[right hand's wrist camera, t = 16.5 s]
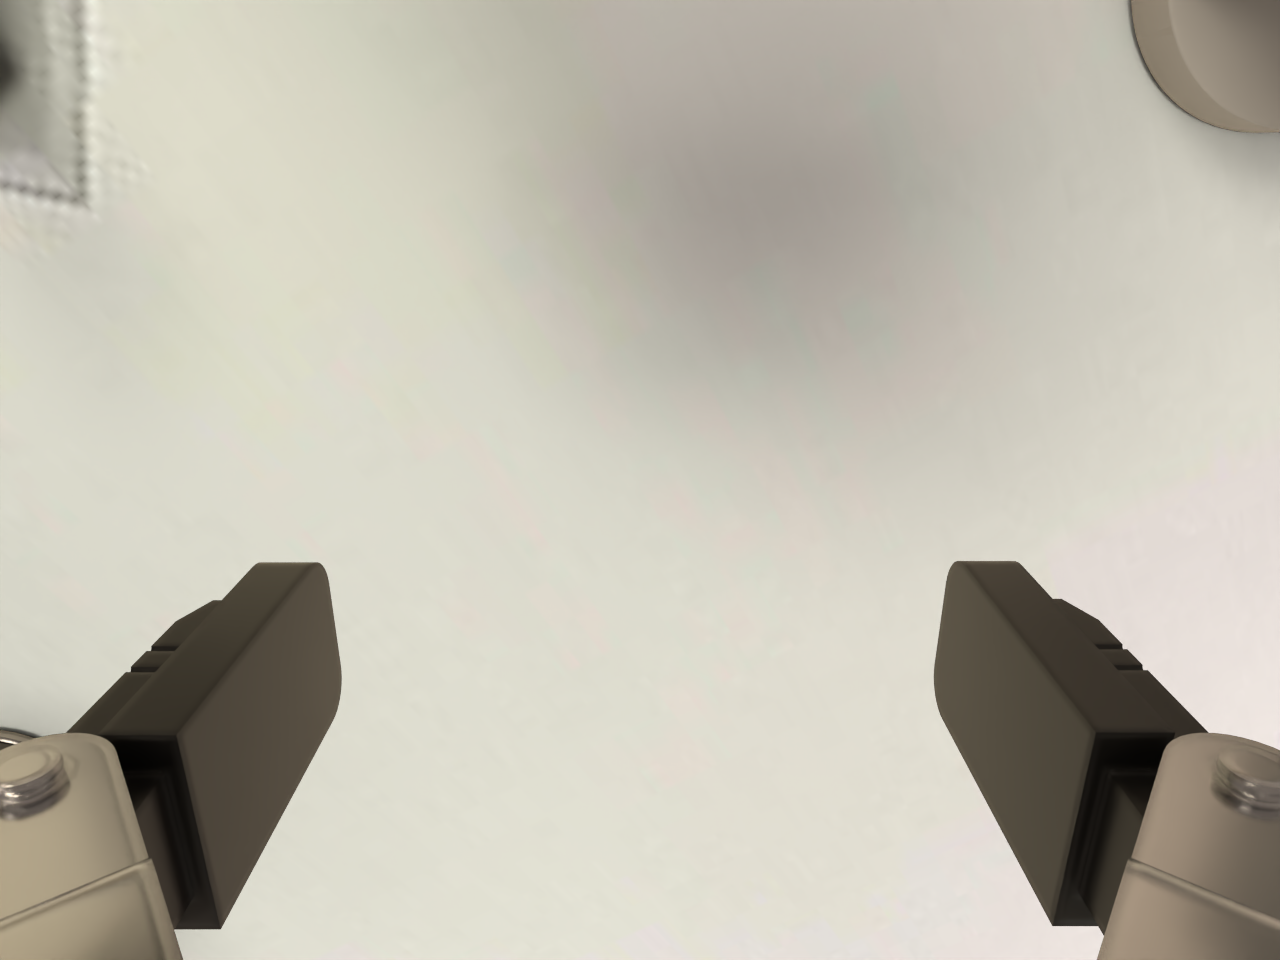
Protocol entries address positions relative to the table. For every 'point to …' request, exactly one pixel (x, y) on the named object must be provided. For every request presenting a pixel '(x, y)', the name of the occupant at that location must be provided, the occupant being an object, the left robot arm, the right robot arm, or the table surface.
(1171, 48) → the bust sculpture
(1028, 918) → the table surface
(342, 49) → the table surface
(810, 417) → the table surface
